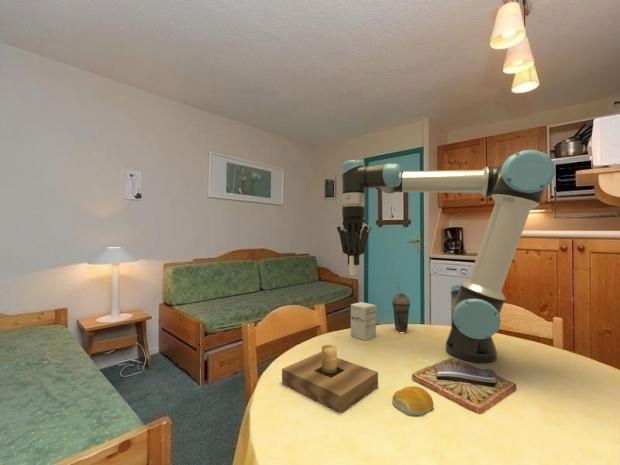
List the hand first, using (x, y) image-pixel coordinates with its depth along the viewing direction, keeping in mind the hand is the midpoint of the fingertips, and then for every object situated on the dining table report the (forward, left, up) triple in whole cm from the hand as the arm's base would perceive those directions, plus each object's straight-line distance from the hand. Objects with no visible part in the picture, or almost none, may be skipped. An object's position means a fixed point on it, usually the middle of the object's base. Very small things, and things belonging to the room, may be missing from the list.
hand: (353, 274), depth 105 cm
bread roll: (-29, +18, -27) cm, 44 cm away
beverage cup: (-2, -31, -27) cm, 41 cm away
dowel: (-9, +24, -26) cm, 37 cm away
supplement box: (+6, -15, -27) cm, 31 cm away
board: (-9, +24, -26) cm, 37 cm away
